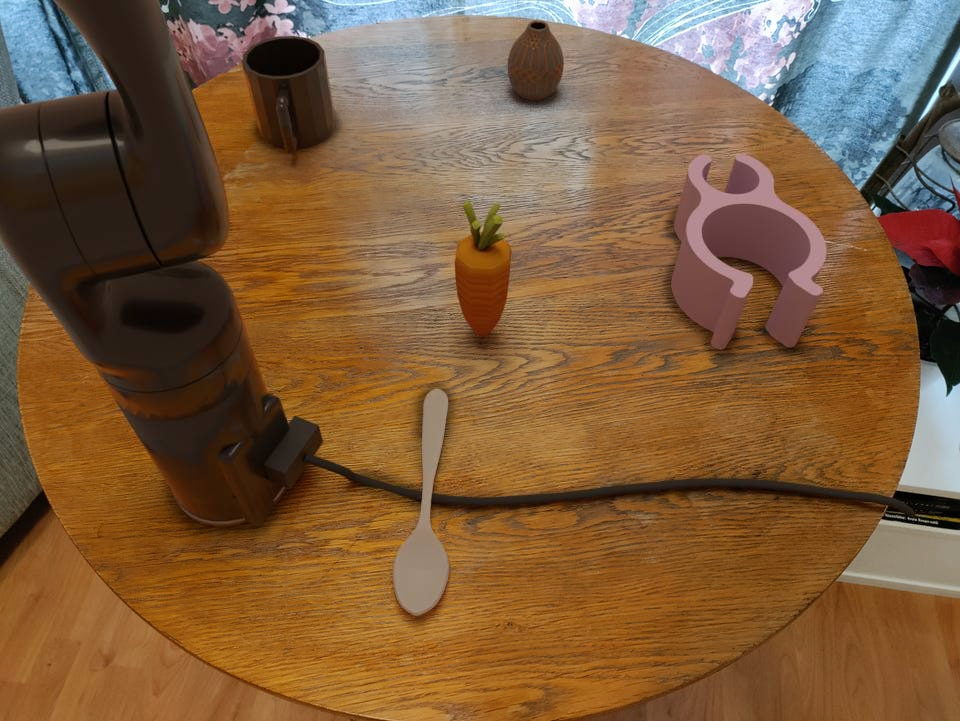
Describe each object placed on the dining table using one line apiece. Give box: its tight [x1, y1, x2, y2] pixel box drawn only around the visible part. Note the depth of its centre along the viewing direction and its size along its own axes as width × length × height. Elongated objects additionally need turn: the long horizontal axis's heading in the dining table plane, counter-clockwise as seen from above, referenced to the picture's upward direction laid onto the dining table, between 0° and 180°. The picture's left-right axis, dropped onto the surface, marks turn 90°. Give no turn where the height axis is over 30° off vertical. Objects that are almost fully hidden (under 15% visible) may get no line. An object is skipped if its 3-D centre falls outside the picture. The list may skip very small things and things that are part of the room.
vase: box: [507, 19, 565, 101], centre depth 94 cm, size 7×7×9 cm
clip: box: [670, 153, 827, 351], centre depth 74 cm, size 20×12×7 cm, turn 3°
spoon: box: [392, 388, 450, 617], centre depth 60 cm, size 4×21×2 cm, turn 178°
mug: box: [241, 35, 336, 154], centre depth 87 cm, size 13×9×9 cm
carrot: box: [454, 200, 512, 338], centre depth 65 cm, size 5×5×15 cm
